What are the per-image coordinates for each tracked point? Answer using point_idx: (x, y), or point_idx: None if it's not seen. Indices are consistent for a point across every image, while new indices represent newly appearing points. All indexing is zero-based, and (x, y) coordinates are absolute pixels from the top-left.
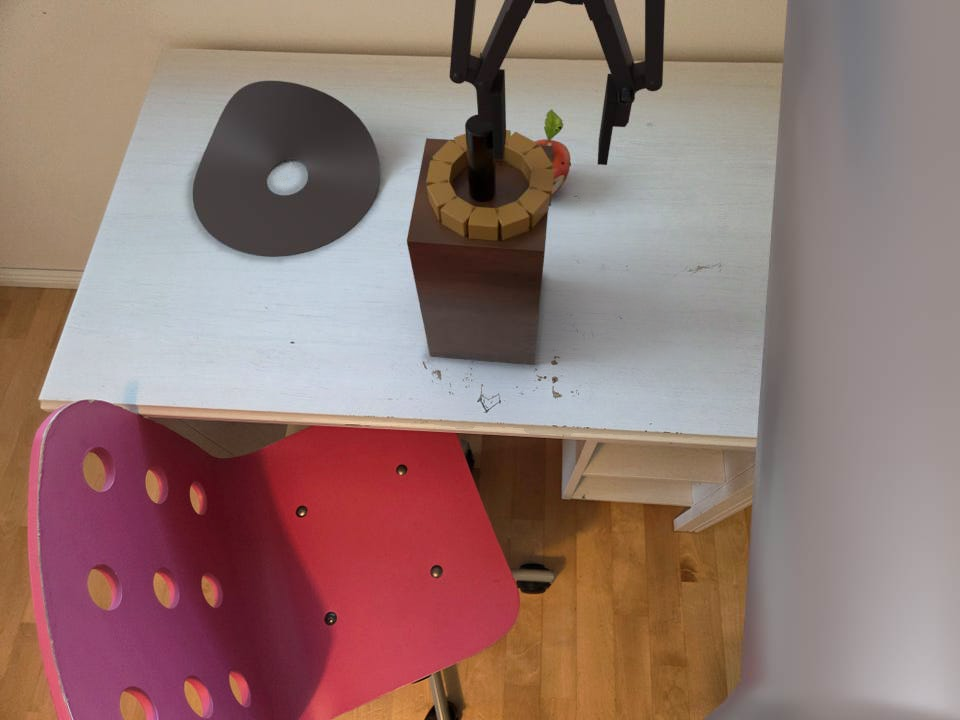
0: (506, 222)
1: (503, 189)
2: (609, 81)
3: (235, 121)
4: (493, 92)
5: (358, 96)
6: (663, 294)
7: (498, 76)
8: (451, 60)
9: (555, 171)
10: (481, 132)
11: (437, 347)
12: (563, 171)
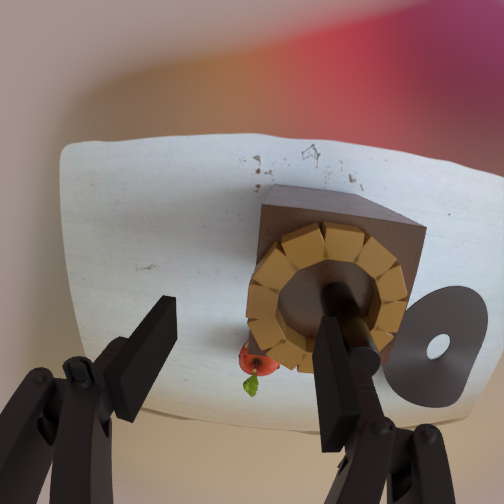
0: (313, 234)
1: (310, 299)
2: (125, 409)
3: (460, 379)
4: (355, 415)
5: (383, 405)
6: (173, 246)
7: (337, 442)
8: (447, 463)
9: None
10: (359, 353)
11: (354, 195)
12: (244, 350)
